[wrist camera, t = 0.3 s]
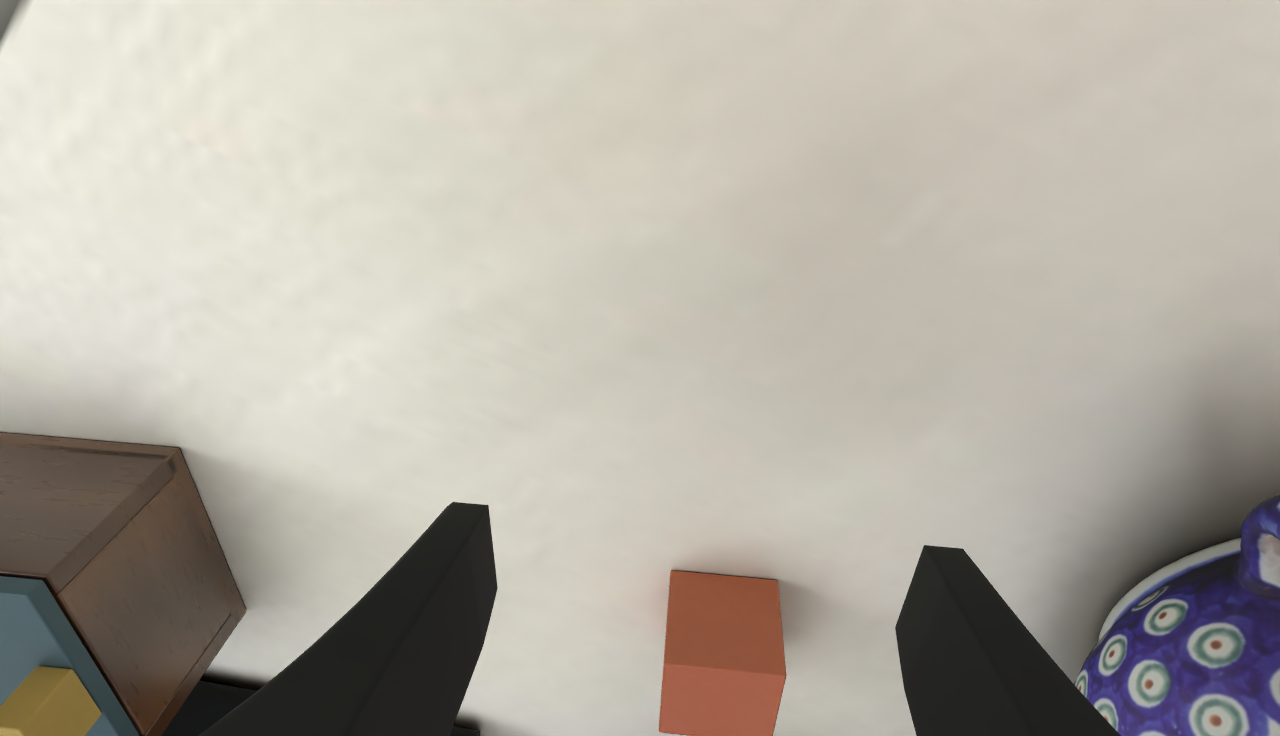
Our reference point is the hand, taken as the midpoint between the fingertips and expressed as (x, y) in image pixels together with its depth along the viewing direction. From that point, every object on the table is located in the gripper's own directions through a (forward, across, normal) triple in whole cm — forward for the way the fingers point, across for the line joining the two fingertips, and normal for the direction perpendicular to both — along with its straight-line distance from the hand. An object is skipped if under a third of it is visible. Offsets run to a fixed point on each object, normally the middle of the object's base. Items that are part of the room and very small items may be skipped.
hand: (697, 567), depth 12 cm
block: (+10, -2, +13) cm, 17 cm away
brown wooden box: (+10, +24, +12) cm, 29 cm away
